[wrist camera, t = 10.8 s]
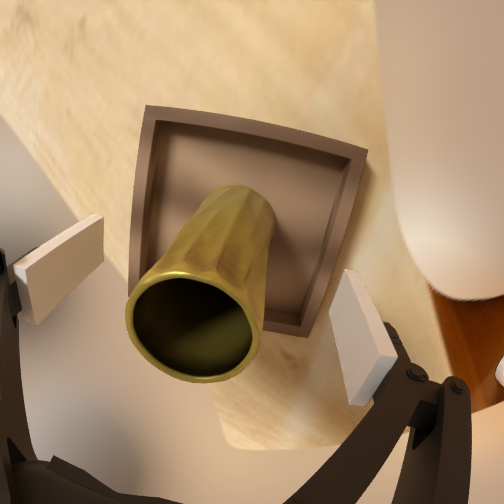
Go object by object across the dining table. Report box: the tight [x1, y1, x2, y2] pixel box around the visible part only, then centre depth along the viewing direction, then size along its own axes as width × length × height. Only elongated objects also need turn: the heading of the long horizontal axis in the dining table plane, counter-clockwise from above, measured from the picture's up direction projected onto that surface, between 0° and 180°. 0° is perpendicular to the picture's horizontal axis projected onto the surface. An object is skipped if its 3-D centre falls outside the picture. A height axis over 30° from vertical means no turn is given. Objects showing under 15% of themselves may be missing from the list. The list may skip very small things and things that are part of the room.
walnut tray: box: [128, 105, 368, 338], centre depth 23 cm, size 16×16×2 cm
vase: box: [125, 185, 275, 383], centre depth 17 cm, size 6×6×14 cm
